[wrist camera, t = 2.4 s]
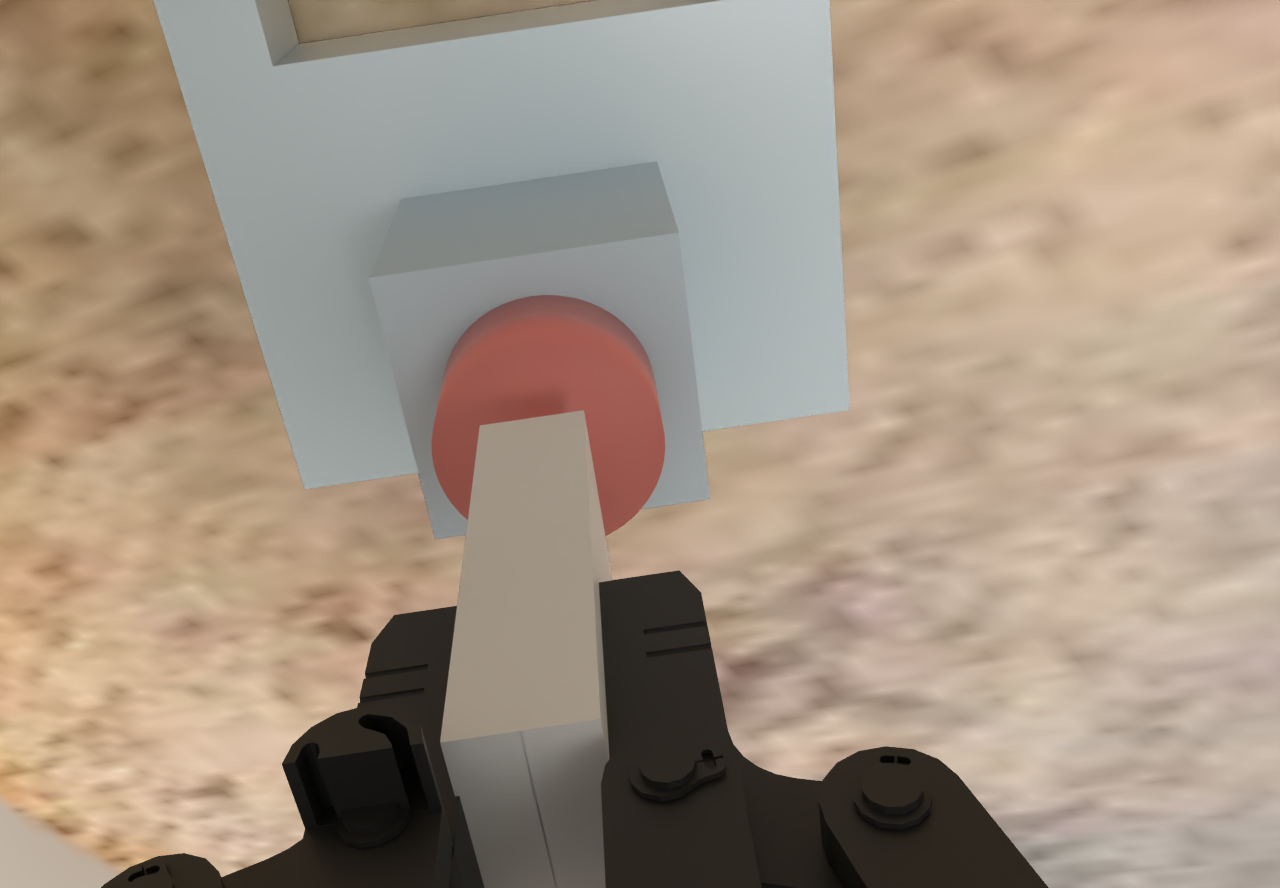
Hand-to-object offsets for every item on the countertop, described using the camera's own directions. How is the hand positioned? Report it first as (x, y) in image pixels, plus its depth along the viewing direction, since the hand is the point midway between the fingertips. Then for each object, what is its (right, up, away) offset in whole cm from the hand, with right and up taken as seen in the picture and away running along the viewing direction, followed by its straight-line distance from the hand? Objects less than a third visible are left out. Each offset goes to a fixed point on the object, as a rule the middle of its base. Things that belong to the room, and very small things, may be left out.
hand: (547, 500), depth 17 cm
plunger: (0, +2, +3) cm, 3 cm away
